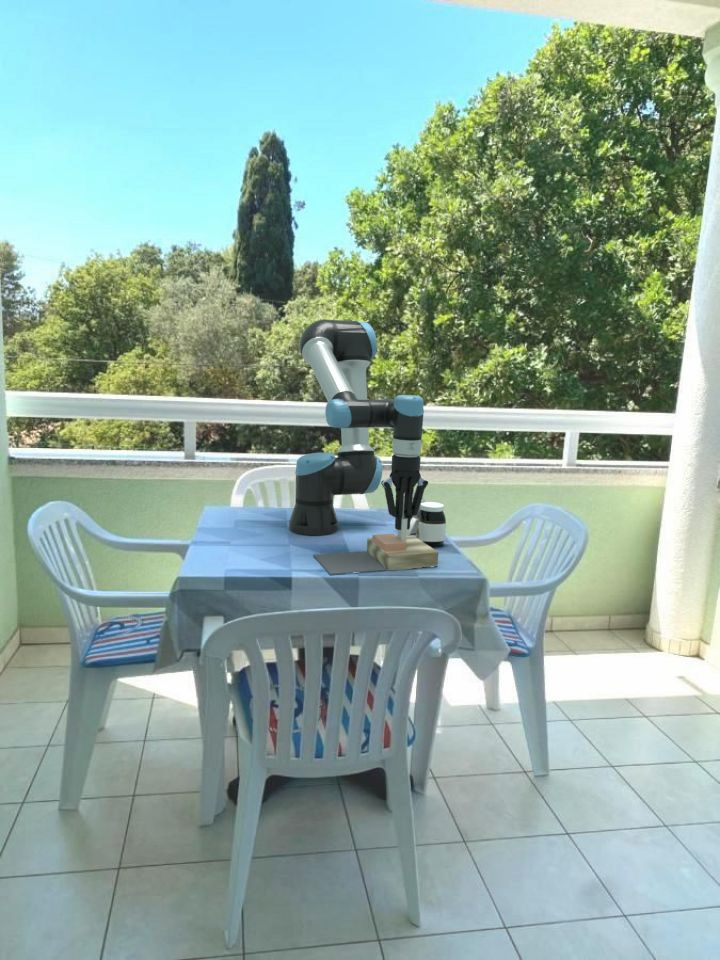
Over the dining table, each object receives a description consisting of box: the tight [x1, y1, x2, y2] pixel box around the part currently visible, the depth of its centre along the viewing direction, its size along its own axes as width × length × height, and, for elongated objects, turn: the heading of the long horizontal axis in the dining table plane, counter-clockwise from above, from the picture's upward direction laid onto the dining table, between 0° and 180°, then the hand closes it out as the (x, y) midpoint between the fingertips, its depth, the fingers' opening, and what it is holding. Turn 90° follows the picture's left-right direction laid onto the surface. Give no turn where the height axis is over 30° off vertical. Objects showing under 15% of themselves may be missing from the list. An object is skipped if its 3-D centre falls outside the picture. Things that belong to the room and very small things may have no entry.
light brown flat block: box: [372, 533, 406, 552], centre depth 180 cm, size 9×6×2 cm, turn 21°
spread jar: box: [407, 501, 447, 547], centre depth 199 cm, size 12×11×12 cm
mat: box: [312, 550, 388, 576], centre depth 177 cm, size 16×15×1 cm
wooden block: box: [366, 535, 439, 572], centre depth 182 cm, size 16×14×4 cm
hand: (401, 541), depth 182 cm, fingers closed
